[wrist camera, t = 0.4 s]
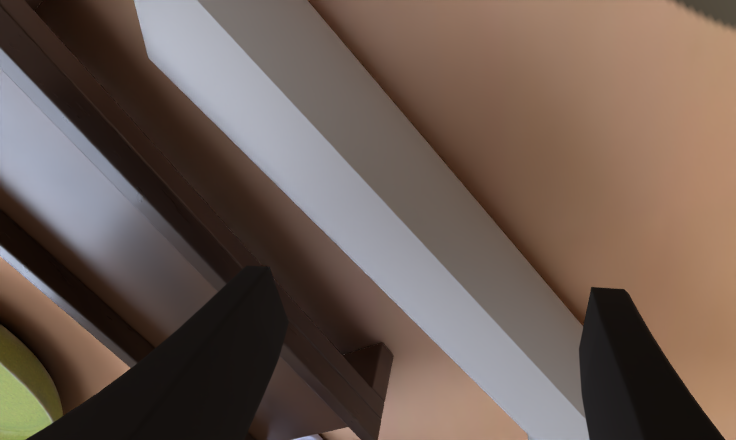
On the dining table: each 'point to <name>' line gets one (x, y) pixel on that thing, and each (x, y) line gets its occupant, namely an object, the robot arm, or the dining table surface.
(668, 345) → the dining table surface
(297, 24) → the grey octagonal prism
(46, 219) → the dark brown tray
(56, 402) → the saucer
